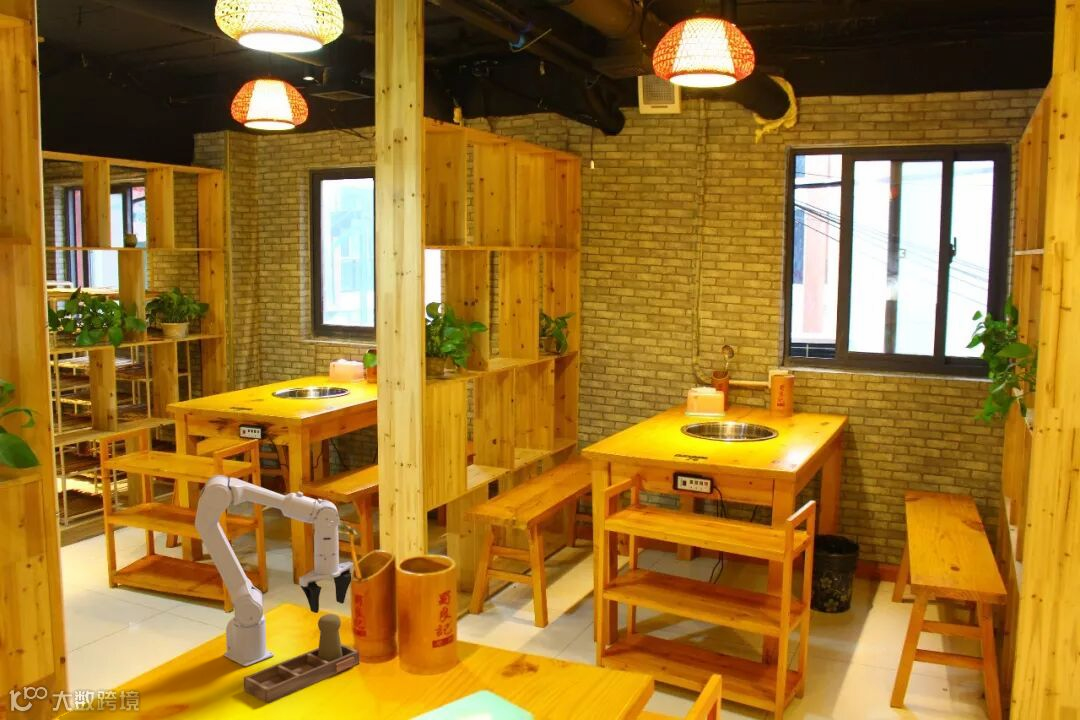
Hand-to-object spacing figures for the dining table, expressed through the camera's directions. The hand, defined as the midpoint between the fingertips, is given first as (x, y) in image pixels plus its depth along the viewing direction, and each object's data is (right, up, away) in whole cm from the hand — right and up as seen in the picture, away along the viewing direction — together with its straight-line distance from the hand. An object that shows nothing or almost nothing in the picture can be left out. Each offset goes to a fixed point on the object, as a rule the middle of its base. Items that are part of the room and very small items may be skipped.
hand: (327, 606), depth 218 cm
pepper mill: (+2, -11, -8) cm, 13 cm away
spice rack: (-2, -12, -14) cm, 18 cm away
